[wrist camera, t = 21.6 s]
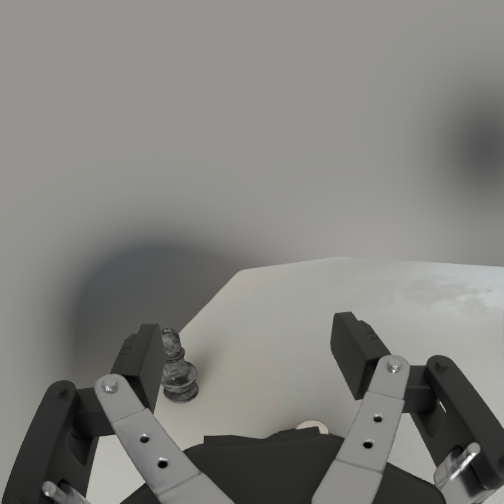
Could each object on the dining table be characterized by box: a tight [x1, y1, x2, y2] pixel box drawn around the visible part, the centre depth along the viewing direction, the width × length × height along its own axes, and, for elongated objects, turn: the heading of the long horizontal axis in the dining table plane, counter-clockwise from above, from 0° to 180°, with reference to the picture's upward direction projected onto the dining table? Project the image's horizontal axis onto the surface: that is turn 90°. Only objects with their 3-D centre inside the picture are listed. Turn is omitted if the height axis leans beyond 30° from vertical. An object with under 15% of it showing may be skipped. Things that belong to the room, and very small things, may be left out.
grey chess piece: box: [160, 325, 199, 403], centre depth 37 cm, size 6×6×12 cm
